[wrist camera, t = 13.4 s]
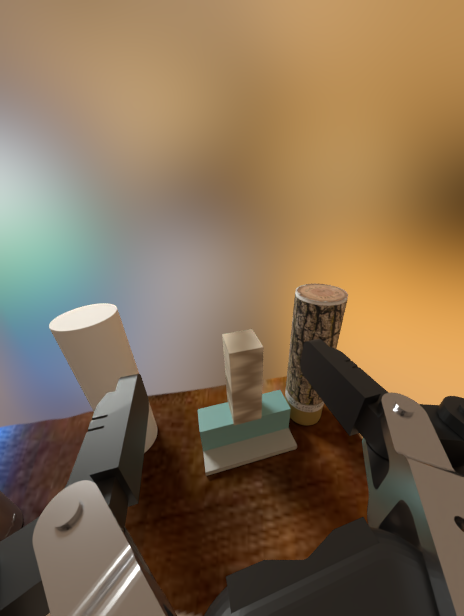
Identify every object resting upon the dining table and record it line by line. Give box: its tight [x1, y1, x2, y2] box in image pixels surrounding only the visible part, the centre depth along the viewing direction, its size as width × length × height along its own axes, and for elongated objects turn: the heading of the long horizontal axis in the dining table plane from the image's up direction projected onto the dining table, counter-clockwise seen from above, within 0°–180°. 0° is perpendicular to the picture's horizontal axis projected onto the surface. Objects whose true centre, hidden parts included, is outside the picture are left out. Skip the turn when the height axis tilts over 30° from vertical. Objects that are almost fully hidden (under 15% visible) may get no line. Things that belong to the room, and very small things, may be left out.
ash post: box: [222, 329, 263, 425], centre depth 30 cm, size 4×4×14 cm
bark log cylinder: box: [285, 284, 348, 425], centre depth 34 cm, size 7×7×25 cm
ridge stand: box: [198, 390, 297, 476], centre depth 35 cm, size 15×10×6 cm, turn 103°
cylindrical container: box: [49, 303, 157, 453], centre depth 31 cm, size 7×7×25 cm
